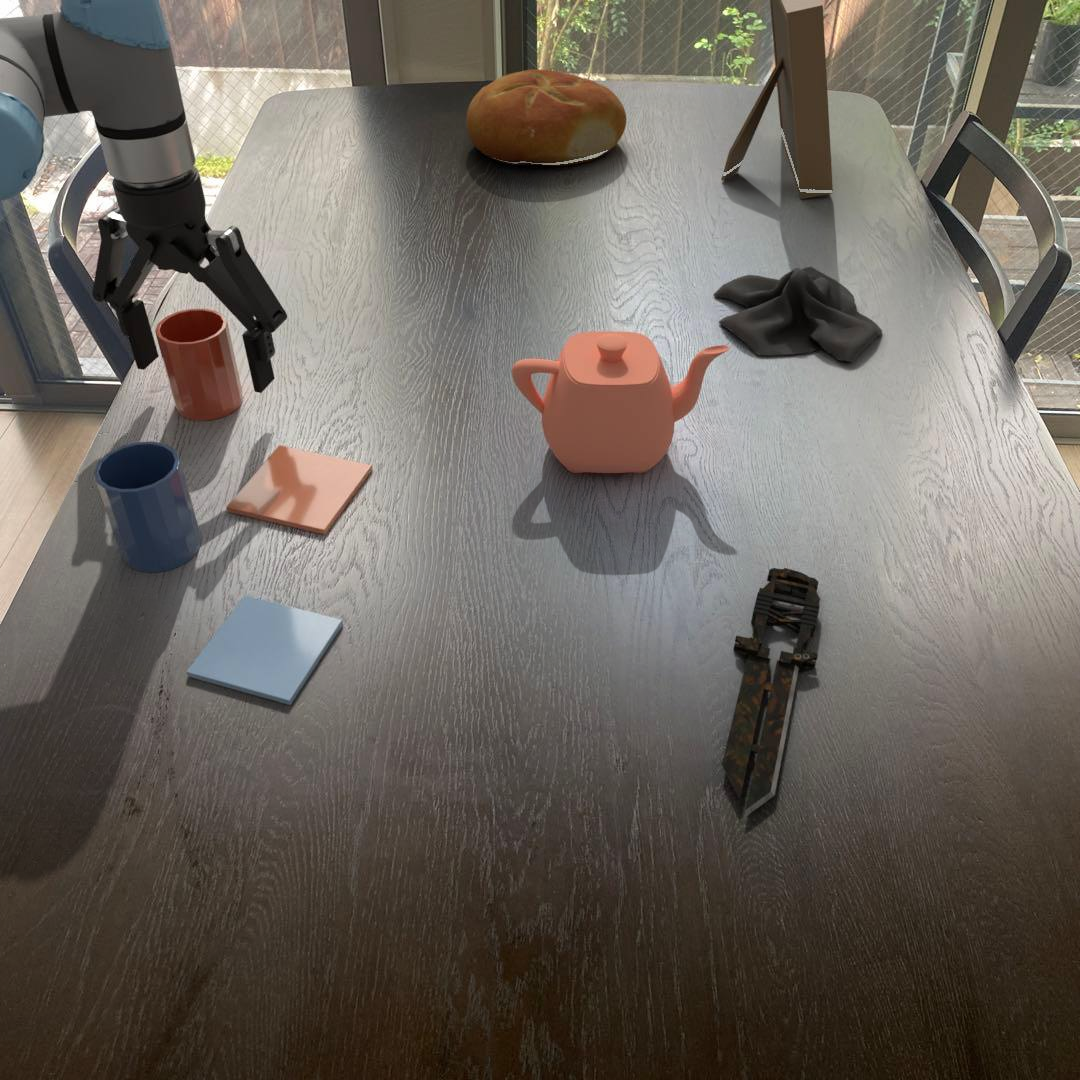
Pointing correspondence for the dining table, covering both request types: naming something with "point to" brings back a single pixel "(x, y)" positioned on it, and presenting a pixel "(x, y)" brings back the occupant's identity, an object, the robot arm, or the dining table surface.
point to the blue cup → (148, 506)
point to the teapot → (611, 400)
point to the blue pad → (266, 649)
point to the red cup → (200, 363)
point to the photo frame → (796, 95)
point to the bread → (544, 118)
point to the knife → (769, 685)
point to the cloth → (797, 315)
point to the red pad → (300, 489)
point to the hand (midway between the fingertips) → (205, 374)
